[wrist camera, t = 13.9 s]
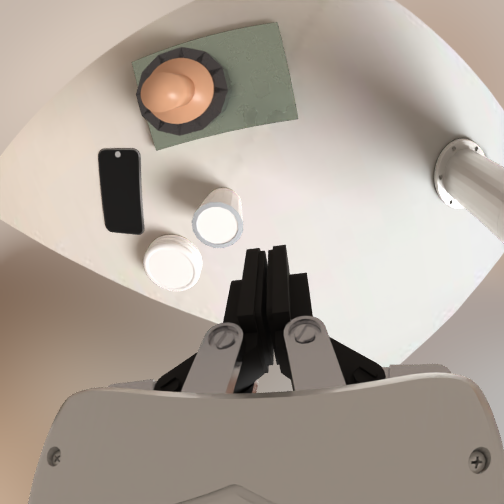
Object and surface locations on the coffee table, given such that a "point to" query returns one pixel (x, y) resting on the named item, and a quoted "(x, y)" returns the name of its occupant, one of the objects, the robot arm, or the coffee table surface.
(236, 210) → the white grey cylinder
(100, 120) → the coffee table surface
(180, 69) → the cap
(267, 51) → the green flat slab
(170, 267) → the white short cylinder
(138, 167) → the smartphone
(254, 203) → the coffee table surface
